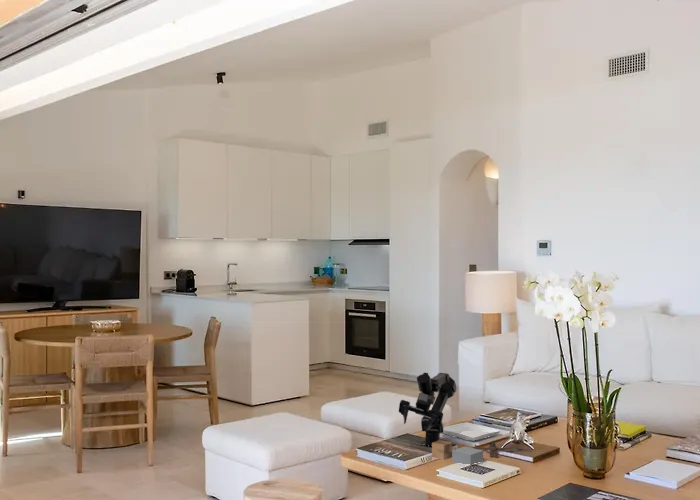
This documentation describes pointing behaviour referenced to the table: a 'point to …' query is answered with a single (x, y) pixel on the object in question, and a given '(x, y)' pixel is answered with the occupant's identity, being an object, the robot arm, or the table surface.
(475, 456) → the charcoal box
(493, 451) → the bear figurine
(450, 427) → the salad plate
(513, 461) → the table surface
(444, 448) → the walnut cube
